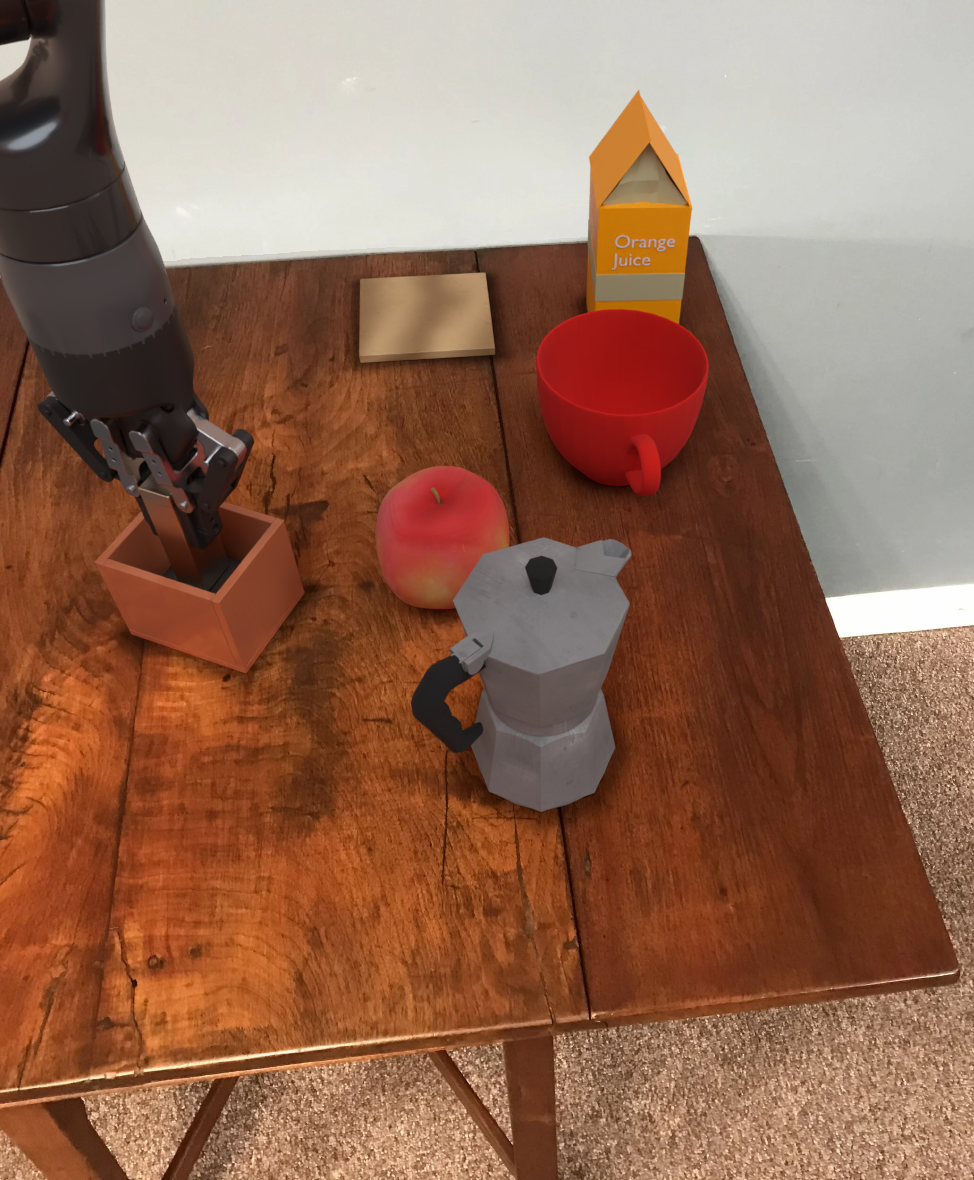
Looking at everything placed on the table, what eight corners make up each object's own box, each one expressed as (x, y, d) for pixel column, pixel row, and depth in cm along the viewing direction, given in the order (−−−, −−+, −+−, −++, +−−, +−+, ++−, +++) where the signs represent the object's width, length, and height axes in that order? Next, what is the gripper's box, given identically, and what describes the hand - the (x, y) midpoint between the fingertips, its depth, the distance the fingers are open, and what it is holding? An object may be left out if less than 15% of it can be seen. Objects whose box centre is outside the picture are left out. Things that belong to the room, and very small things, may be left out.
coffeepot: (565, 649, 71) (569, 458, 57) (665, 733, 67) (695, 548, 53) (388, 787, 64) (344, 605, 50) (489, 889, 60) (470, 722, 46)
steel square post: (169, 618, 71) (109, 487, 62) (202, 577, 74) (150, 446, 64) (234, 639, 70) (183, 510, 61) (265, 598, 73) (221, 467, 63)
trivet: (360, 363, 91) (359, 355, 90) (361, 285, 99) (360, 278, 98) (495, 355, 92) (495, 347, 92) (485, 279, 100) (485, 272, 99)
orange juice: (665, 299, 99) (685, 88, 83) (676, 356, 93) (701, 140, 78) (584, 301, 98) (590, 88, 83) (591, 358, 92) (598, 141, 77)
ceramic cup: (560, 562, 77) (562, 463, 69) (525, 415, 87) (523, 315, 79) (727, 540, 78) (746, 442, 71) (673, 399, 89) (684, 301, 81)
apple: (535, 563, 76) (534, 464, 69) (479, 658, 71) (470, 562, 63) (420, 526, 78) (406, 426, 71) (357, 615, 73) (334, 516, 65)
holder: (130, 634, 71) (93, 561, 65) (195, 557, 76) (166, 483, 70) (246, 674, 69) (218, 602, 63) (305, 592, 74) (284, 519, 68)
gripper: (254, 295, 54) (312, 524, 67) (35, 239, 57) (133, 469, 70) (169, 379, 49) (249, 606, 63) (-65, 313, 52) (60, 544, 65)
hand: (187, 533), depth 66 cm, fingers closed on steel square post, 2 cm apart
